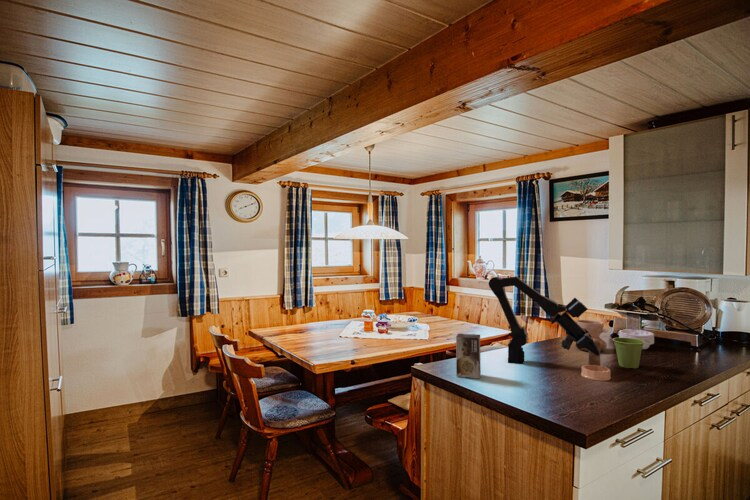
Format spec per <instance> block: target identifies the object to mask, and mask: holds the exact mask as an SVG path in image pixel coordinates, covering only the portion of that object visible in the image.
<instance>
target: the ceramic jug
mask: <svg viewBox="0 0 750 500" xmlns="http://www.w3.org/2000/svg"><path fill="white" fill-rule="evenodd" d="M575 322H577V323H578V325H579V326H580V327H581V328H586V329H587V330H588V331H589V333H586V334H588V335H589V334H590V335H591V337H592V339H593V341H600V352H602V351H604V350H605V349H607V342H606V341H605V340H604V339H602V338H601V334H602V333H605V334H606V333H608V331H609V330H607V329H604V325H605V324H604V321H599V320H589V319H577V320H576V321H575ZM573 345H574V346H575V348H577V349H579V348H578V347H577V346H576V342H574V341H573ZM580 350H582V351H585V352H589V350H588V349H586V348H581V349H580Z"/></svg>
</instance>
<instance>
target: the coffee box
mask: <svg viewBox="0 0 750 500" xmlns="http://www.w3.org/2000/svg"><path fill="white" fill-rule="evenodd" d="M455 348H456V349H455V351H456V353H455V354H456V355H455V356H456V358H455V362H456V363H455V364H456V367H455V368H456V375H455V376H460V377H459V378H465V377H471V378H470V379H476V378H479V379H480V378H481V370H482V369H481V334H474V333H457V335H456V336H455Z"/></svg>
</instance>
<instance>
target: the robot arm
mask: <svg viewBox="0 0 750 500" xmlns="http://www.w3.org/2000/svg"><path fill="white" fill-rule="evenodd" d="M513 286H514V287H515V288H517V289H518V290H519V291H520V292H522V293H523V294H525V295H526V296H527V297H529V298H530V299H532V300H533V301H534V302H535V303H536V304H537V305H538V306H539V307H540V308H541V310H543V312H544V313H545V314H546V315H548V316H551V317H550V319H551V323H550V324H551V325H553V324H555V323H557V325H558V326H560V327H561V328H562V329H563V331H565V334H566V335H565V337H564V338H563V339H562V341H561V342H560V344H561V348H563V350H567V351H570V349H571V346H572V344H574V342H576V346H577V347H578V348H577V347H576V346H575V347H576V348H577V349H579V350H581V348H586V349H588V350H589V351H591V352H593V353H594V354H596V355H597V356H598V355H599V352H598V350H597V348H596V346H595V344H594V342H593V339H592V337H591V335H590V334H589V335H588V334H586V333H589V331H588V330H587V329H586V328H581V327H580V326H579V325H578V323H577V322H576V321H575V320H574V319H573V318H579V317H580V316H582V315H583V314H584V313H585V312H587V311H588V309H589V308H588V307H587V306H585V303H583V302H581V301H580V300H579V299H577V297H573V298H572V300H570V301H569V302H568V303H567V304H560V303H558V302H557V301H556V300H555V301H554V300H553V299H551V298H549V297H547V296H544V295H542V294H541V293H540V292H539V291H537V290H535V289H534V288H533V287H531V286H530V285H529V284H528V283H526V282H525V281H523V280H522V279H521V278H520V277H519V276H512V277H511V276H510V277H500V276H494V277H492V278H490V279H489V281H488V287H489V288H490V290H491V292H492V293H493V294H494V295H495V297H496V298H497V300H498V302H499V305H500V307H501V310H502V311H503V314H504V317H505V318H506V320H507V323H508V324H509V328H510V334H511V339H510V340H509V342H508V344H507V350H508V351H507V363H508V364H509V363H510V364H521V365H522V364H523V365H524V362H525V351H524V348H523V346H526V344H527V343H528V342H527V341H528V336H529V333H528V332H527V330H526V327H525V325H523V326H521V324H520V323H519V321H518V319H517V316H516V314H515V311H514V309H513V308H512V305H511V303H510V300H509V298H508V295H507V293H506V288H507V287H513ZM589 351H588V352H589Z"/></svg>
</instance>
